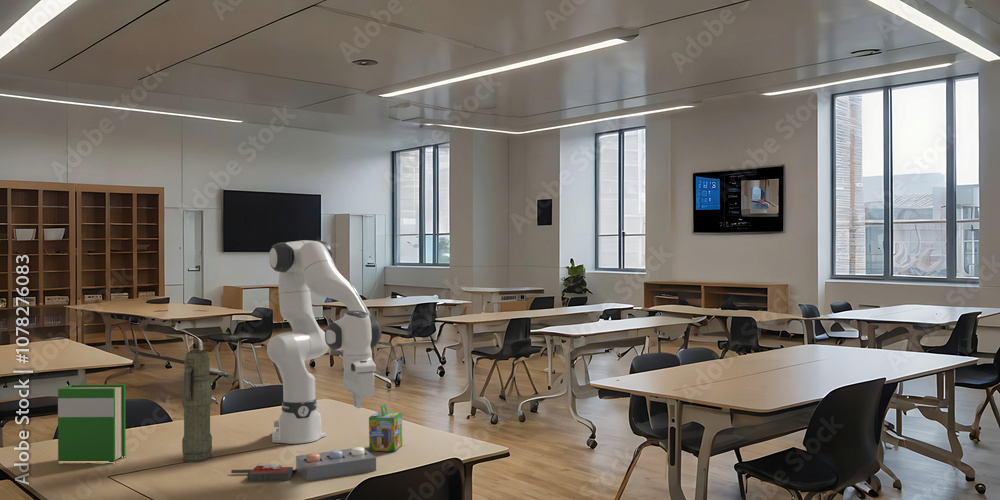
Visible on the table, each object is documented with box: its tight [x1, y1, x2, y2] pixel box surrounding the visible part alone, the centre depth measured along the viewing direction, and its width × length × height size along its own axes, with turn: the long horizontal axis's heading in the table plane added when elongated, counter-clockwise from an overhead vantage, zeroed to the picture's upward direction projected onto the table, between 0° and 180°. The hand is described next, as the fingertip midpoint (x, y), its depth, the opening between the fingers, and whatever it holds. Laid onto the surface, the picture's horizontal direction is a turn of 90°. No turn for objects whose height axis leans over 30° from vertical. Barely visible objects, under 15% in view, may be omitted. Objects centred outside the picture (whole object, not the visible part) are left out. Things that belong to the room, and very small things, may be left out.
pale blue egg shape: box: [328, 449, 343, 460], centre depth 224 cm, size 4×4×3 cm
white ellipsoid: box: [350, 446, 365, 457], centre depth 227 cm, size 4×4×3 cm
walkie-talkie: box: [230, 463, 298, 483], centre depth 216 cm, size 9×4×20 cm
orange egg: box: [305, 452, 320, 463], centre depth 220 cm, size 4×4×3 cm
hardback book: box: [57, 383, 127, 462], centre depth 235 cm, size 18×7×24 cm, turn 90°
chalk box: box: [368, 403, 403, 453], centre depth 248 cm, size 9×9×15 cm
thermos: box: [181, 349, 213, 463], centre depth 237 cm, size 9×12×35 cm
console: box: [295, 447, 377, 482], centre depth 224 cm, size 14×21×4 cm, turn 119°
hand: (357, 407), depth 227 cm, fingers closed
